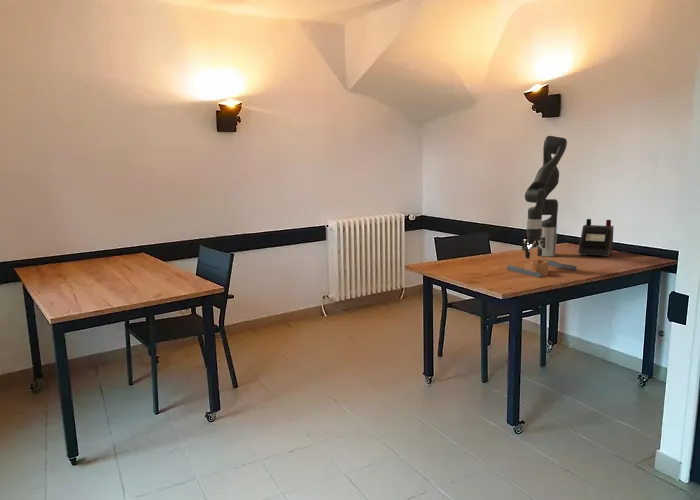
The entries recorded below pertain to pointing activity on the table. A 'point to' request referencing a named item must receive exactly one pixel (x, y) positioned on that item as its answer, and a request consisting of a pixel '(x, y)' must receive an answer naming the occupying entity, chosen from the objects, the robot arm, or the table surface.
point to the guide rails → (538, 274)
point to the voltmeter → (596, 239)
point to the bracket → (538, 266)
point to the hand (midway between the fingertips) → (533, 257)
